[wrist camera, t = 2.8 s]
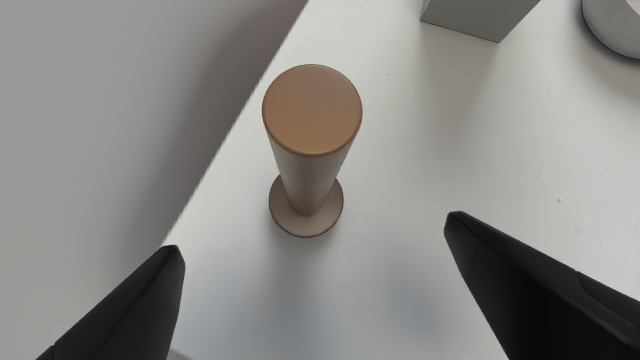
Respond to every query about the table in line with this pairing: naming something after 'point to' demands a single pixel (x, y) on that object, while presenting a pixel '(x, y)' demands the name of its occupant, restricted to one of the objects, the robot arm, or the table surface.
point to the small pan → (615, 24)
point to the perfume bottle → (478, 16)
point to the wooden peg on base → (309, 145)
